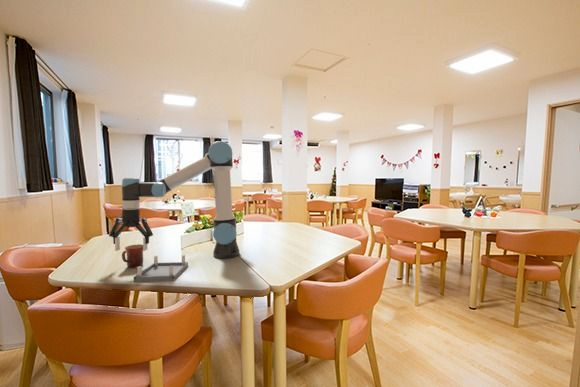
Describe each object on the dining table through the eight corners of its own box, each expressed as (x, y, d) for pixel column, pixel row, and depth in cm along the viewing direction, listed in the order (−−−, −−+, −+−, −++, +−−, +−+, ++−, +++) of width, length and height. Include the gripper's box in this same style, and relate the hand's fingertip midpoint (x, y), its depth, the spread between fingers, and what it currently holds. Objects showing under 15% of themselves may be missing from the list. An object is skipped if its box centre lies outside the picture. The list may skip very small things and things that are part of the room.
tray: (188, 265, 135) (187, 254, 135) (173, 280, 116) (173, 267, 115) (154, 266, 134) (153, 255, 134) (133, 281, 114) (133, 268, 114)
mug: (134, 262, 140) (134, 244, 140) (148, 263, 138) (148, 244, 138) (115, 270, 128) (114, 249, 128) (130, 271, 127) (130, 250, 126)
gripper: (159, 208, 137) (159, 248, 138) (109, 207, 135) (110, 248, 136) (153, 209, 129) (153, 252, 130) (100, 209, 127) (100, 252, 128)
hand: (131, 250), depth 133 cm, fingers open, 13 cm apart
